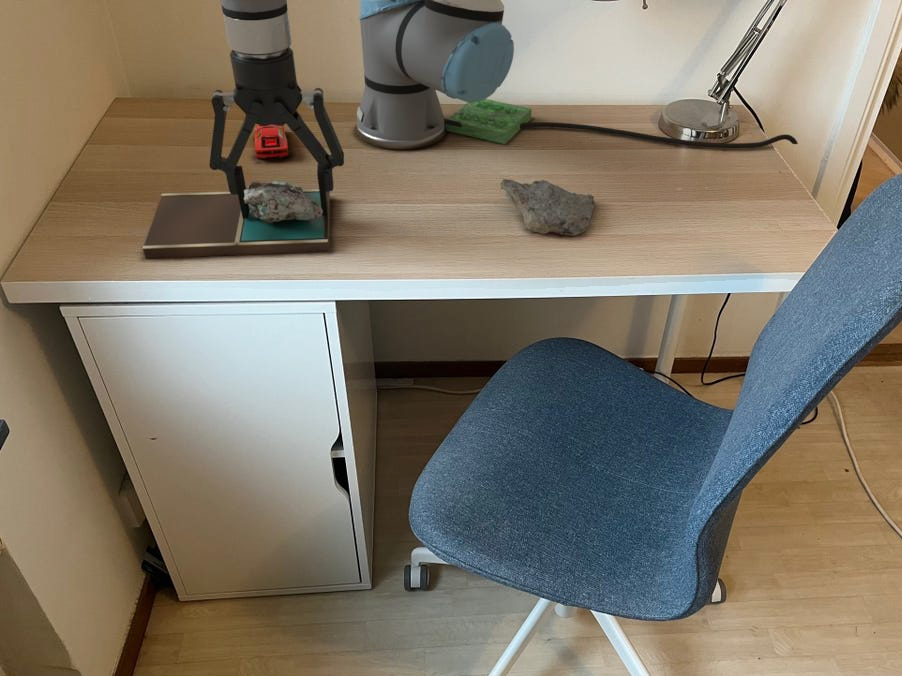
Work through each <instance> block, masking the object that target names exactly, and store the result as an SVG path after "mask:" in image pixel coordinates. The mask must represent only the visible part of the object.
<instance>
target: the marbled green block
mask: <svg viewBox="0 0 902 676" xmlns="http://www.w3.org/2000/svg"><path fill="white" fill-rule="evenodd" d="M447 119H449V120H453V121H458V122H462V123H461V124H462V127H457V126H453V125H448V124H445V132H450V133H454V134H459V135H463V136H467V137H472V138H476V139H481V140H485V141H490V142H493V143H498V144H502V145H506V144H507V143H508V142H509V141H510V140H511V139H512V138H513V137H515V135H516V134H517V133H519V131H521V129H522V128H520V124H521V123H529V122H530V121H531V119H532V108H531V107H525V106H522V105H516V104H513V103H507V102H502V101H497V100H494V99H493V100H492V99H487V98H486V99H484V100H482V101H479V102H466V103H465V104H464V105H463V106H461V107H460V108H459V109H458V110H456V111H455V112H453V114H451V115H450V116H449V117H447Z"/></svg>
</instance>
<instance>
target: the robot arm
mask: <svg viewBox="0 0 902 676" xmlns="http://www.w3.org/2000/svg"><path fill="white" fill-rule="evenodd" d="M220 5H221V10H222V11H221V14H222V20H223V25H224V30H225V35H226V42H227V46H228V48H229V49H230V50H231V51H230V53H229V57H230V64H231V69H232V74H233V80H234V87H235V88H234V91H229V92H228V91H227V92H223V91H222V90H221V89H216V90H214V91H213V94H212V97H211V105H212V109H213V112H214V121H213V131H212V138H211V148H210V157H209V165H208V166H209V168H210V169H211V170H213V171H217V170H219V171H222V172H224V174H225V175H226V182H227V186H228V192H230V193H231V194H232V195H235V194H238V197H239V202H240V208H241V213H242V218H243V219H248V217H249V211H250V209H249V208H248V204H246V203H245V200H244V197H245V194H244V190H245V189H247V186H246V180H245V176H244V175H245V174H244V170H243V166H242V165H238V163H239V161H240V159H241V157H242V155H243V152H244V150H245V148H246V146H247V143H248V141H249V139H250V136H251V134H252V132H253V131H254V129H255V127H256V125H259V126H268V125H276V126H283V127H285V125H286V126H287V127H288V128H289V130H291V132H293V133H294V134H295V135H296V137H297V138H298V140H299V141H301V143H302V145H303V146H304V147H305V148H306V149H307V151H308V152H309V154H310V155H311V156H312V157H313V159H314V160H315V161H316V163H317V167H316V169H317V170H316V174H317V183H318V189H319V192H320V201H321V208H322V210H323V213H322V216H328V202H327V193H326V191H329V192H333V190H334V174H333V170H334V169H335V168H336V167H343V166H344V165H345V152H344V150H343V148H342V145H341V143H340V140H339V138H338V136H337V134H336V131H335V129H334V127H333V124H332V122H331V119H330V116H329V114H328V112H327V109H326V107H325V99H324V91H323V89H322V88H320V87H315V89H314V90H302V89H301V87H300V85H299V84H298V79H297V72H296V66H295V65H296V64H295V56H294V51H293V49H292V48H291V45H292V43H293V42H292V41H293V40H292V34H291V26H290V17H289V10H288V0H220ZM359 5H360V7H359V17H358V20H359V22H360V35H361V48H362V49H361V50H362V61H363V62H362V63H363V75H364V76H363V77H364V89H363V93H362V97H361V101H360V105H359V106H358V107H357V111H356V116H357V117H356V132H357V135H358V137H359V138H360V139H361V140H362V141H363V142H365V143H367V144H370V145H372V146H375V147H378V148H383V149H387V150H413V149H415V150H416V149H421V148H424V147H428V146H430V145H431V146H432V145H433V144H436V143H437V142H439V141H441V139H443V137H445V134H446V124H448V125H453V126H457V127H462V124H461V123H462V122H458V121H453V120H449V119H448V118H445V116H444V115H445V114H444V111H443V109H442V105H441V103H440V100H439V95H438V93H437V92H440V93H442V94H444V95H445V96H446V97H448V98H451V99H453V100H460V101H463V102H464V103H465V102H466V103H468V102H479V101H482V100H484V99H487V98H489V97H491V96H492V95H493V94H495V92H496V91H497V89H498V88H500V87H501V86H502V85H503V83H504V82H505V80H506V78H507V76H508V74H509V72H510V69H511V66H512V65H513V59H514V54H515V43H514V40H513V39H512V34H511V32H510V30H508V28H506V26H505V25H504V24H503V20H504V13H505V5H504V3H503V1H502V0H360V1H359ZM302 102H304V103H306V105H307V107H308V109H310V110H312V111H314V112H313V113H314V117H315V120H316V122H317V124H318V127H319V129H320V131H321V134H322V136H323V138H324V140H325V143H326V146H327V147H328V150H329V152H330V154H329V153H328V152H327V150H326V149H325V147H323V145H322V144H321V143H320V141H319V140H318V138H317V137H316V135H314V133H313V132H312V131H311V129H310V127H308V125H307V124H306V122H305V121H304V120H303V118H302V116H301V114H300V113H299V112H298V109H299V107H300V105H301V103H302ZM232 104H235V105H237V106H238V108H239V109H240V110H241V111H242V112H243V113H244V114H245V116H244V119H243V121H242V124H241V126H240V128H239V131H238V133H237V135H236V137H235V139H234V142H233V144H232V147H231V149H230V151H229V153H228V156H227V157H223V156H222V153H223V146H224V140H225V139H224V138H225V131H226V122H227V113H228V112H229V111H231V109H232ZM520 128H521V129H526V128H527V129H528V128H556V129H557V128H558V129H559V128H560V129H570V130H571V129H573V130H582V131H592V132H599V133H605V134H611V135H618V136H625V137H629V138H630V137H631V138H636V139H643V140H647V141H653V142H660V143H666V144H674V145H679V146H680V145H681V146H690V147H697V148H698V147H699V148H709V149H710V148H711V149H756V148H762V147H766V146H769V145H772V144H774V143H778V142H779V141H783V140H786V141H788V142H790V143H791V144H793V145H798V140H797V139H796V138H795V137H794V136H793V135H790V134H779V135H776V136H774V137H771V138H769V139H766V140H762V141H758V142H756V141H755V142H740V143H739V142H738V143H737V142H736V143H735V142H734V143H732V142H707V141H697V140H688V139H681V138H672V137H666V136H658V135H652V134H646V133H642V132H634V131H630V130H624V129H616V128H611V127H610V128H609V127H603V126H597V125H589V124H579V123H570V122H569V123H567V122H556V121H555V122H551V121H549V122H548V121H532V122H530V121H528V122H527V123H521V124H520Z"/></svg>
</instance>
